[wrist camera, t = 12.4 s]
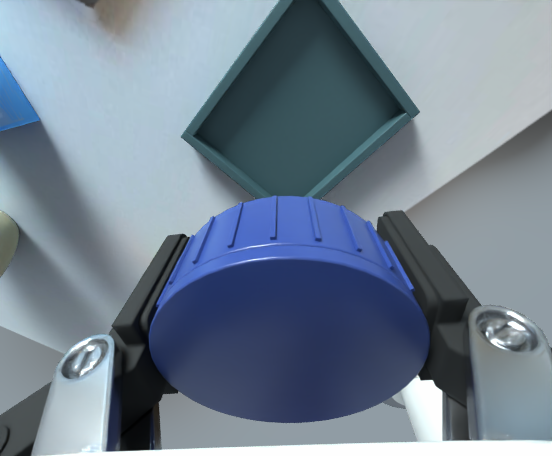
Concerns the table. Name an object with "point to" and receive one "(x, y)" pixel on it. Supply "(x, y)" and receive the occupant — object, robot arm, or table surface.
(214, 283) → the lid
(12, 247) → the flower pot
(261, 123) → the tray
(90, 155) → the table surface
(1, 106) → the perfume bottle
